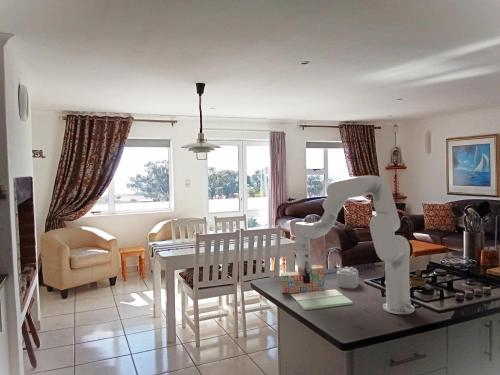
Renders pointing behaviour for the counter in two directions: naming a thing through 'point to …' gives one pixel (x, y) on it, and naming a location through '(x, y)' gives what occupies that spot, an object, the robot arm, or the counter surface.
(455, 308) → the counter surface
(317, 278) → the stack of blocks
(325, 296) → the cream mat
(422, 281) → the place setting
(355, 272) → the grey animal paw
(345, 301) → the sage mat
